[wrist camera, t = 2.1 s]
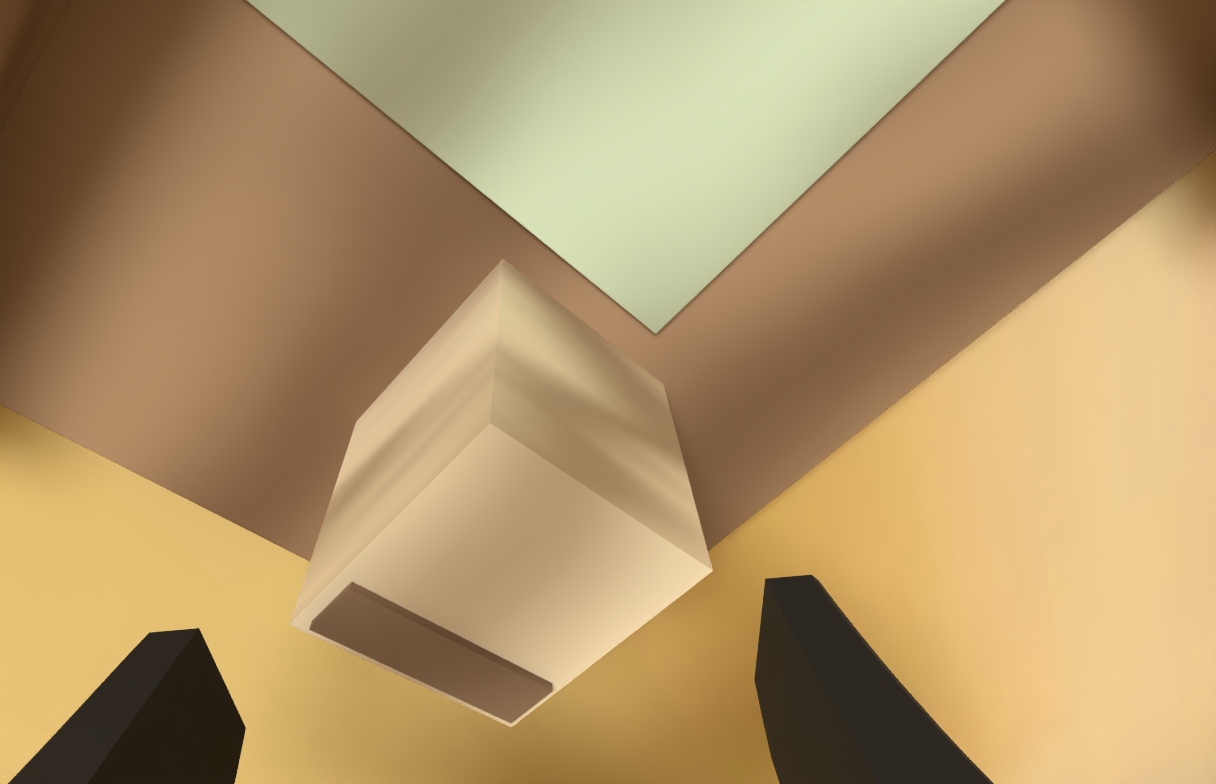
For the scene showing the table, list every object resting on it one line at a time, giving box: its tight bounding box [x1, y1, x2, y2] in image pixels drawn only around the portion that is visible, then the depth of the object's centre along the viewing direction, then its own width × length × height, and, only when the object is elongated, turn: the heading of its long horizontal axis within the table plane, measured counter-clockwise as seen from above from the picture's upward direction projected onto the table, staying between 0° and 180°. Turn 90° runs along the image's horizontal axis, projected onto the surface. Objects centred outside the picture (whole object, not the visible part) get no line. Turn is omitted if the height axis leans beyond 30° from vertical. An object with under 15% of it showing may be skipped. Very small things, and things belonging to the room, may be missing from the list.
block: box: [289, 259, 713, 727], centre depth 13 cm, size 4×4×5 cm
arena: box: [0, 0, 1216, 561], centre depth 12 cm, size 16×20×4 cm
